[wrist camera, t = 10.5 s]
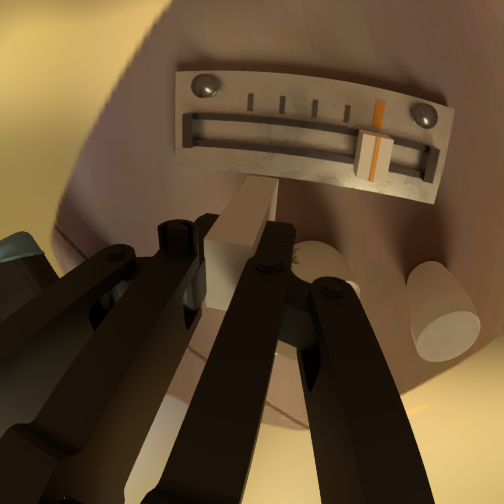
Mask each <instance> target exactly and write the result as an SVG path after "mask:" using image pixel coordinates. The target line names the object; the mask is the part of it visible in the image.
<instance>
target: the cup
mask: <svg viewBox="0 0 504 504" xmlns="http://www.w3.org/2000/svg"><path fill="white" fill-rule="evenodd" d="M407 290H408V300H409V312H410V325H411V334H412V337H413V340H414V343H415V346H416V349H417V352H418V354H419V355H420V357H421V358H423V359H425V360H427V361H431V362H442V361H447V360H450V359H453V358H455V357H457V356H459V355H461V354H462V353H464V352H465V351H466V350H468V349H469V348H470V347H471V346H472V345H473V343H474V342H475V341H476V339H477V337H478V335H479V332H480V326H481V325H480V320H479V318H478V315H477V313H476V310H475V307H474V304H473V302H472V301H471V299H470V298H469V297H468V295H467V294H466V293H465V291H464V290H463V289H462V288H461V286H460V285H459V284H458V282H457V281H456V280H455V279H454V278H453V276H452V275H451V274H450V273H449V271H448V270H447V269H446V268H445V267H444V266H443V265H442V264H441V263H439V262H436V261H428V262H424V263H422V264H420V265H418V266H417V267H415V268H414V269H413V270H412V272H411V273H410V275H409V277H408V280H407Z"/></svg>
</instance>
